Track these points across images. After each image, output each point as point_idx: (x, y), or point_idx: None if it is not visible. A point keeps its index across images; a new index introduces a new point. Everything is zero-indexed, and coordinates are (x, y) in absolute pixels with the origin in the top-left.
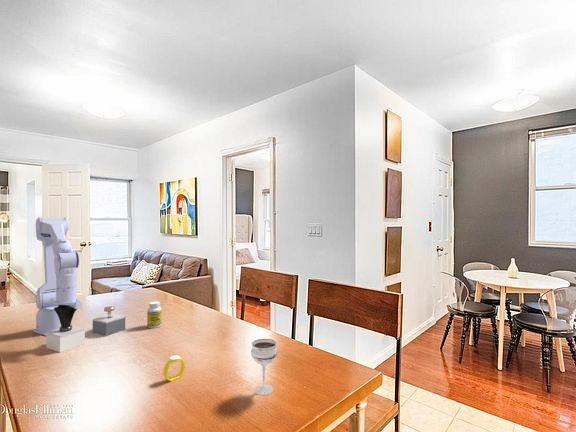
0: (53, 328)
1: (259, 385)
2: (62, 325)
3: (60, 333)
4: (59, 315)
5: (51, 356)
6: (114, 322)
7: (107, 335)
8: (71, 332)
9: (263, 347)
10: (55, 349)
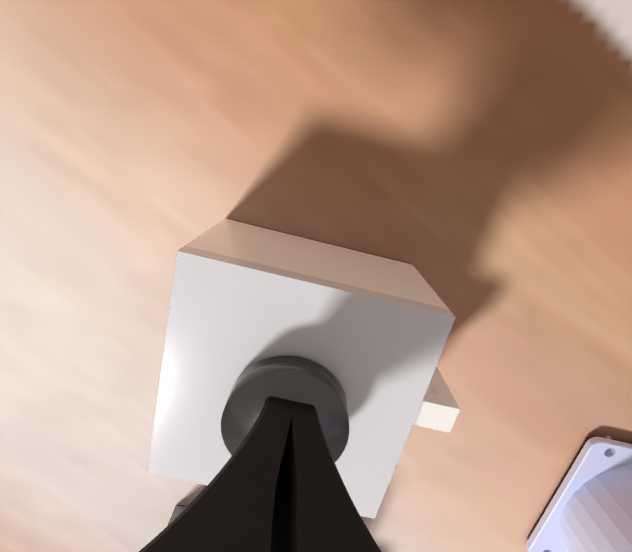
0: (605, 510)
1: None
2: (282, 412)
3: (253, 316)
4: (313, 538)
5: (217, 137)
6: None
7: (174, 513)
8: (165, 364)
9: None
10: (285, 236)
